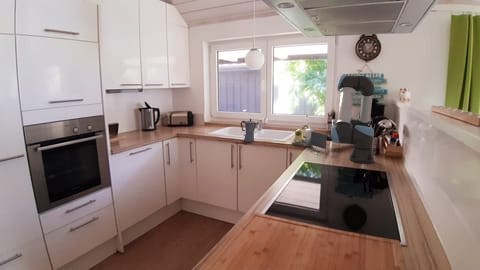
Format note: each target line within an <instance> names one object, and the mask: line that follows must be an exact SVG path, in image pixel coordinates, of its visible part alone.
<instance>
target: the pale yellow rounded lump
mask: <svg viewBox="0 0 480 270" xmlns="http://www.w3.org/2000/svg"><path fill="white" fill-rule="evenodd" d="M304 130H305V129H301V128H297V129H296V130H295V131H294V137H293V138H294V139H293V141H292V142H291V145H293V146H301V147H303V146H304V147H305V140H306V137H304Z"/></svg>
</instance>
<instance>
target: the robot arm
mask: <svg viewBox="0 0 480 270" xmlns="http://www.w3.org/2000/svg"><path fill="white" fill-rule="evenodd" d="M375 91H376V89H375V85H374V82H373V81H372V79H371V78H369V77H368V76H366V75H348V74H346V75H341V76H340V77H339V79H338V81H337V92H339V94H340V99H339V107H338V114H337V121H336V122H334V125H332V126H331V135H330V134H327V141H326V142H333V143H335V144H343V145H351V146H353V147H352V148H353V149H351V150H352V151H351V152H350V155H349V161H351V162H354V163H358V164H365V165H366V164H367V165H368V164H370V165H371V164H374V163H375V156H374V153H373V145H374V136H375V135H374V134H375V130H374V129H373V128H370V127H368V124H369V123H370V122H371V121H372V120H371V113H372V103H373V96H374V95H375ZM357 92H359V94H360V97H361V98H360V110H359V112H360V113H359V119H354V117H353V116H352V112H353V111H352V109H353V103H354V102H353V101H354V96H355V95H356V94H357Z"/></svg>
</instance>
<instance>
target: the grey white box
mask: <svg viewBox="0 0 480 270" xmlns="http://www.w3.org/2000/svg"><path fill="white" fill-rule="evenodd" d="M327 135H328V134H326V133H323V132H319V131H318V132H317V131H315V129H314V128H306V129H305V145H304V147H306V148H313V147H317V148H321V149H323V150H326V149H327V142H328V141H327Z"/></svg>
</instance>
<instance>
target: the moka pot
mask: <svg viewBox="0 0 480 270" xmlns="http://www.w3.org/2000/svg"><path fill="white" fill-rule="evenodd" d="M243 124H244V125H243ZM257 125H258V122H257V121H253V120H252V118H249V120H242V121H241V122H240V127H241V130H242V132H245V135H244V139H243V141H244V142H246V143H254V142H255V134H254V133H255V129H256V128H257ZM244 126H245V129H244Z"/></svg>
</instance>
